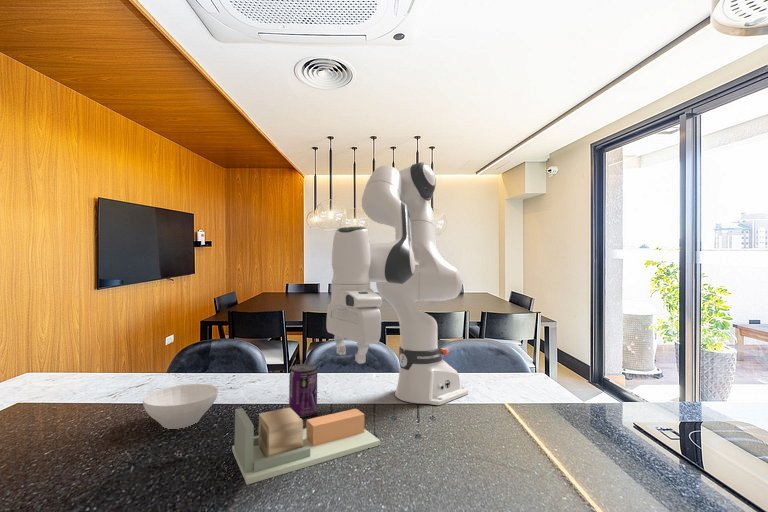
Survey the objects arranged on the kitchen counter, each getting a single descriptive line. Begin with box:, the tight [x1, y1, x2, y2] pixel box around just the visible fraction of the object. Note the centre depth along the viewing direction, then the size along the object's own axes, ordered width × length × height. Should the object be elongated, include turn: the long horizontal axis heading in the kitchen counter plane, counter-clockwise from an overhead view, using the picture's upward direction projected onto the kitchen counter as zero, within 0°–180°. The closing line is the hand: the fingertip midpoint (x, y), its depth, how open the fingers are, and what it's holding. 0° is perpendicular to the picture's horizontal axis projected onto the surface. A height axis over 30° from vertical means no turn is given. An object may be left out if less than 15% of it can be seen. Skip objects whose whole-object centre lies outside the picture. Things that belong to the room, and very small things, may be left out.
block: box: [258, 406, 304, 457], centre depth 72 cm, size 6×8×6 cm
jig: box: [231, 407, 381, 486], centre depth 75 cm, size 27×14×9 cm, turn 122°
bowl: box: [142, 383, 219, 430], centre depth 88 cm, size 16×16×7 cm
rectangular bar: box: [305, 408, 365, 446], centre depth 79 cm, size 12×4×4 cm, turn 122°
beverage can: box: [288, 363, 318, 418], centre depth 94 cm, size 7×7×12 cm
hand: (350, 358), depth 81 cm, fingers open, 8 cm apart
